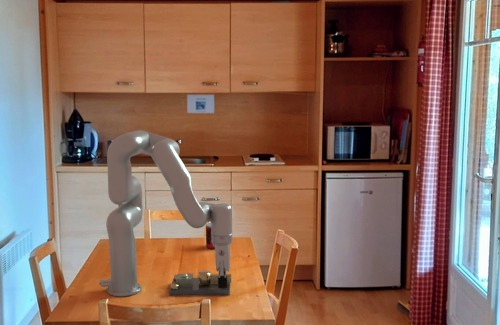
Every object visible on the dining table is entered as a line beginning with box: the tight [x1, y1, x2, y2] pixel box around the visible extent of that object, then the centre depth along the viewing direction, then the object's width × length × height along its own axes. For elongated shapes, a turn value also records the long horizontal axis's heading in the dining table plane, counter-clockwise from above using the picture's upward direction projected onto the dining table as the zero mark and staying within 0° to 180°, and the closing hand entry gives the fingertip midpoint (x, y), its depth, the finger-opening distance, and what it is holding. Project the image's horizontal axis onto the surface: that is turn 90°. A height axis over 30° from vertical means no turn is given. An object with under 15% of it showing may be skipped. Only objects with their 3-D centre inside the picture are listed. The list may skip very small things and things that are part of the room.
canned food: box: [205, 222, 215, 250], centre depth 266 cm, size 8×8×11 cm
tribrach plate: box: [168, 273, 231, 297], centre depth 213 cm, size 22×13×6 cm, turn 91°
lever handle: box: [197, 270, 232, 285], centre depth 213 cm, size 12×5×4 cm, turn 91°
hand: (222, 287), depth 206 cm, fingers closed
